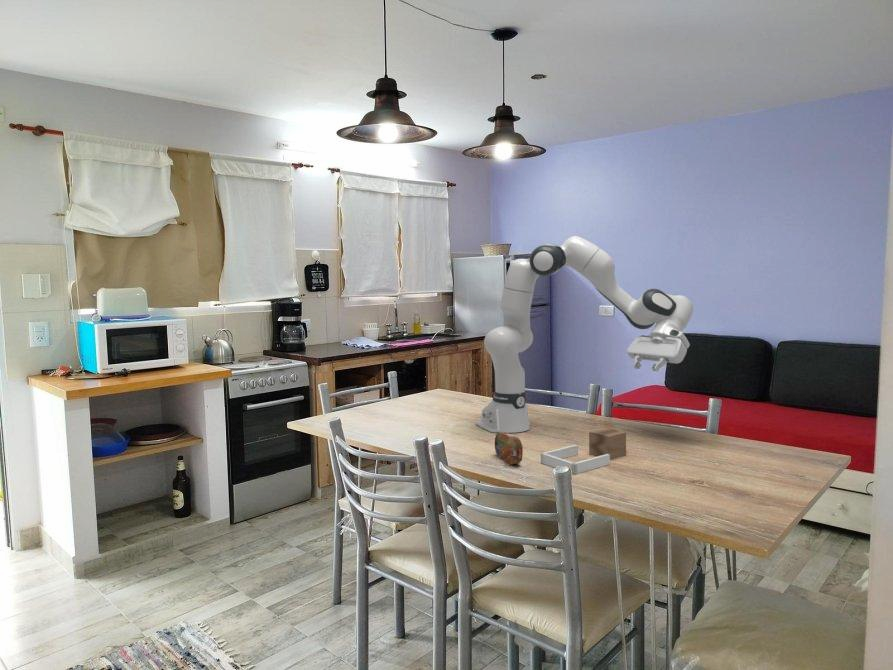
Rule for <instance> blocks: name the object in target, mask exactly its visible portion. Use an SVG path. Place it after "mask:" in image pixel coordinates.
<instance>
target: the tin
mask: <svg viewBox="0 0 893 670" xmlns="http://www.w3.org/2000/svg"><path fill="white" fill-rule="evenodd" d="M523 448H524V447H523V444H522V441H521V439H520V438H519V437H517V436H515V435H513V434H511V433H507V432H496V434H495V438H494V449H495V454H496V456H497V458H499V459H500V460H501V461H503V462H505V463H507V464H509V465H518V464H520V463H521V462H522V460H523V455H524V454H523Z"/></svg>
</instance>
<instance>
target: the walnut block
mask: <svg viewBox="0 0 893 670" xmlns="http://www.w3.org/2000/svg"><path fill="white" fill-rule="evenodd" d="M588 440H589V441H588V448H589V451H588V455H591V456H593V457H598V456H601V455H605V454H609V455H610V461H612V460H614V459H618V458H621V457H626V456H627V432H626V431H622V430H618V429H614V428H609V427H602V428H599V429H593V430H590V431H588Z"/></svg>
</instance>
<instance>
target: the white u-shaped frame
mask: <svg viewBox="0 0 893 670" xmlns="http://www.w3.org/2000/svg"><path fill="white" fill-rule="evenodd" d="M578 455H579V445H577V444H573V445H569V446H564V447H560V448H557V449H553V450H549V451H544V452H542V453H540V463H541V464H543V465H545V466H548V467H552V468H555V467H557V466H567V467H569V468H570V469H571V471H572V474H571V475H578V474H582V473H584V472H585V473H586V472H588V471H591V470H595V469H598V468H602V467H606V466H608V465H609V466H610V464H611V460H610V455H609V454H605V455H601V456H598V457H596V456H593V457H590V458H588V459H584V460H579V461H576V462H573V461H570V460H566V458H570V457H573V456H578ZM555 469H556V468H555Z"/></svg>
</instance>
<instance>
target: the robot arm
mask: <svg viewBox="0 0 893 670" xmlns="http://www.w3.org/2000/svg"><path fill="white" fill-rule="evenodd" d="M615 266H616V265H615V261H614V259H613V258H612V256H610V254H609V253H607V252H606V251H605V250H603V249H602V248H600V247H599V246H597V245H596V244H595V243H593V242H591V241H590V240H588V239H585V238H583V237H581V236H578V235H573V236H570V237H569V238H567V239H566V240H565V241H564V242H563V243H562V244H561V245H560V246H559V245H556V244H553V243H543V244H541V245H539V246H537V247H536V248H534V250H532V251H531V253H530V256H529V258H517V259H514V260H512V262H510V265H509V266H508V270H507V273H506V275H505V279H504V283H503V290H502V296H501V299H500V300H501V301H500V310H501V312H502V317H503V319H502V320H503V325H502V326H499V327H498V326H497V327H495V328H493V329H491V330H490V331H489V332H488V333H486V334H485V337H484V340H483V343H484V344H483V345H484V348H485V351H486V352H487V353H488V354H489V355H490V359H491V360H492V361H491V362H492V364H493V369H494V370H493V371H494V379H495V380H494V382H495V390H494V391H491V392H490V393H491V396H492V401H490V402H489V403H488V404H487V405H486V406H485V407H484V408H482V410H481V418H480V419H479V420H476V421H475V425H476V426H478V427H480V428H482V429H484V430H486V431H488V432H490V433H498V432H507V433H509V434H511V433H513V434H514V433H521V432H525V431H526V432H527V431H528V430H530V429H531V421H530V417H529V409H528V405H527V397H528V395H527V391H526V374H525V373H526V371H525V369H524V368H523V367H522V364H521V360H520V357H519V353H523V352H525V351H526V350H527V349H529V347H531V345H532V344H533V341H534V335H533V332H532V329H531V308H532V304H533V297H534V291H535V286H536V282H537V279H538V278H539V277H541V276H542V277H548V276H552V275H554V274H556V273H558V271H560V269H562V267H569V268H571V269H572V270H573V271H574V270H575V271H576V272H577V273H579V274H580V275H582V277H584V278H585V279H586V280H588V281H589V283H591V284H592V285H593V287H594V288H595V289H596V291H598V293H599V294H601V295H602V297H604V298H605V299H606V300H607V301H608V302H610V303H611V304H612V305H613V306H614V307H616V308H617V310H619V311H620V312H621V313H622V314H623V315H624V317H625V318H626V319H627V321H628V322H629V324H631V326H633V327H634V328H636V329H639V330H648V329H650V328H652V327H653V326H654V327H653V328H652V329H651V331H650V334H649V335H645V334H643V335H639V336H638V337H636V338H634V340H632V342H631V343H630V345H629V346H628V347H627V349H626V353H627V356H629V358H630V359H634V363H633V365H632V366H633V368H634V369H635V370H640V368H641V367H642V364H641V362H642V360H643V361H651V362H657V363H653V365H652V366H651V370H652V371H653V372H659V370H660V369H661V368H663V367H664V366H665V365H666V364H667V363H669V364H676V365H677V364H680V363H682V362H683V361H684V359H685V357H686V355H687V353H688V352H687V351H688V349H689V347H690V346H691V344H690V342H689V340H688V338H687V337H686V335H685V334H684V333H683V330H685V328H686V327H687V325H688V324H689V322H690V320H691V318H692V315H693V312H694V305H693V302H692V301H691V300H690V299H689V298H688V297H687V296H684V295H682V294H681V295H680V294H678V295H677V294H676V295H674V294H669V293H665V292H664V291H662V290H661V289H659V288H658V289H657V288H650V289H647V290H646V291H645V292H644V293H642V295H640V297H639V298H638V299H634V298H633V297H632V296H631V295H630V294H628V292H626V291H625V290H624V289H623V288H622V287H621V286H620V285H618V283H617V281H616V277H615V276H616V275H615V272H616V268H615Z"/></svg>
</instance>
